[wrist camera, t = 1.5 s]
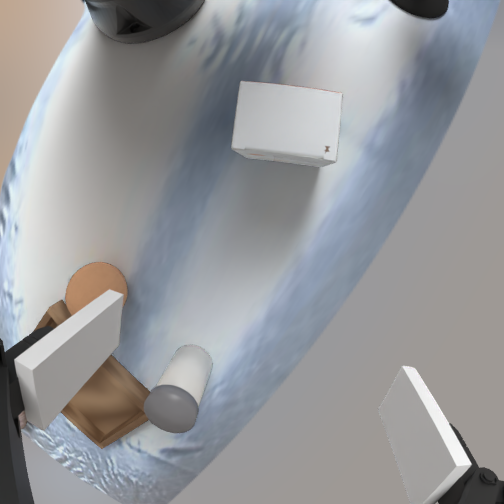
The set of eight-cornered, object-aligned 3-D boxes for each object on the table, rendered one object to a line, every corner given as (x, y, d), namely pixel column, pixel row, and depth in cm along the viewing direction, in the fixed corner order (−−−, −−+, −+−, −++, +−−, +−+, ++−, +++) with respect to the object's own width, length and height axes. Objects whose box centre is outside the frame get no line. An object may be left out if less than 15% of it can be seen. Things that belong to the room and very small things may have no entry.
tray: (25, 353, 42) (14, 361, 39) (61, 299, 39) (49, 307, 36) (108, 438, 44) (101, 448, 41) (162, 402, 41) (155, 415, 38)
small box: (326, 117, 31) (346, 92, 21) (320, 168, 33) (339, 163, 22) (250, 108, 32) (239, 78, 21) (244, 158, 33) (229, 149, 23)
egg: (147, 294, 37) (113, 325, 28) (109, 313, 38) (72, 345, 29) (120, 245, 36) (79, 264, 27) (84, 268, 37) (41, 291, 28)
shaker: (164, 358, 39) (133, 407, 29) (191, 335, 38) (165, 384, 28) (194, 385, 39) (172, 439, 29) (223, 365, 38) (206, 420, 28)
